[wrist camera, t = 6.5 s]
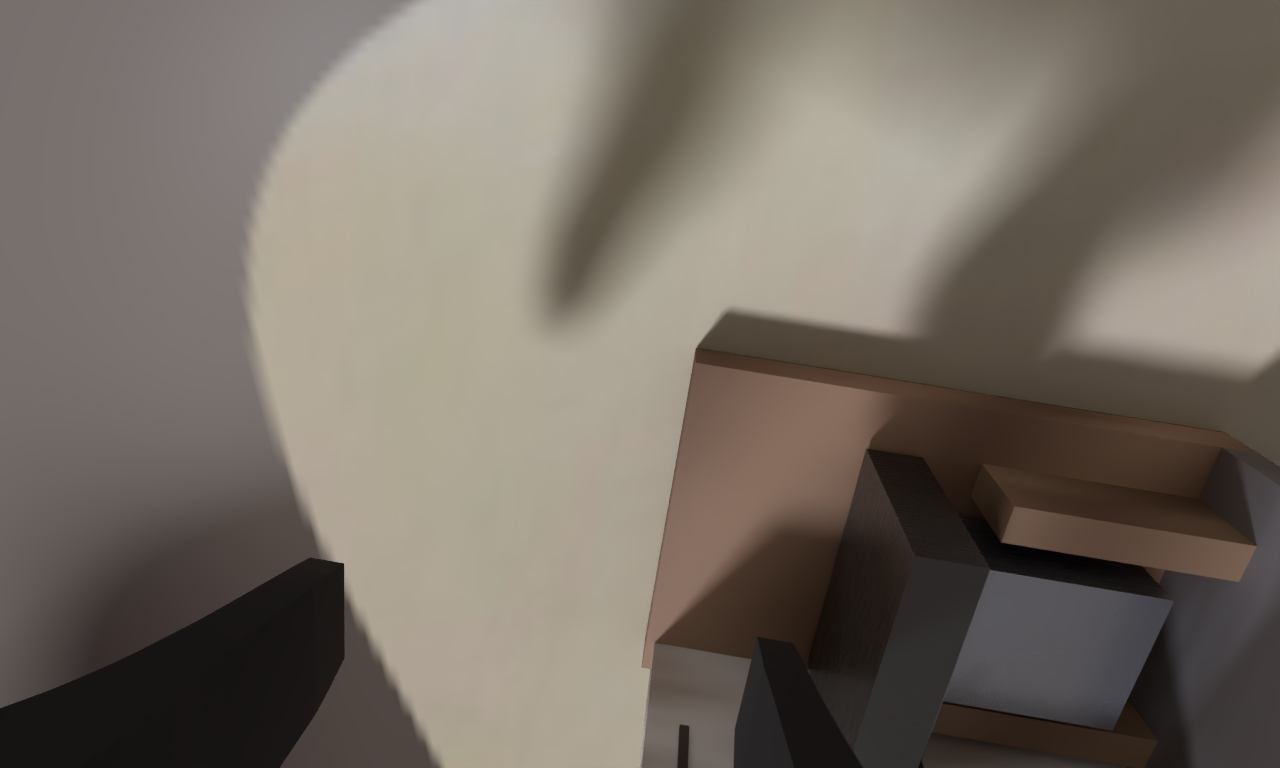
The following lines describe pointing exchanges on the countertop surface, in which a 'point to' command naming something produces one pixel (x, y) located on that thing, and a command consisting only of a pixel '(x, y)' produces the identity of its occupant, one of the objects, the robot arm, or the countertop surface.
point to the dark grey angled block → (967, 621)
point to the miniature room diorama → (1018, 514)
